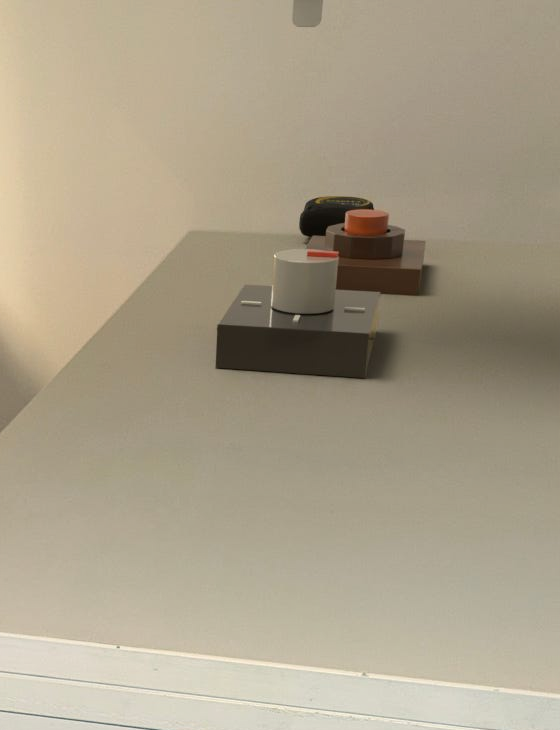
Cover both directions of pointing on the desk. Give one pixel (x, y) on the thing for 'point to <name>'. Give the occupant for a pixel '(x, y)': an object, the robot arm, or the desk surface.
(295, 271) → the hob knob
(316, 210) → the tape measure
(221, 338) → the knob base
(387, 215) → the power button
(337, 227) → the switch block
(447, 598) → the desk surface
